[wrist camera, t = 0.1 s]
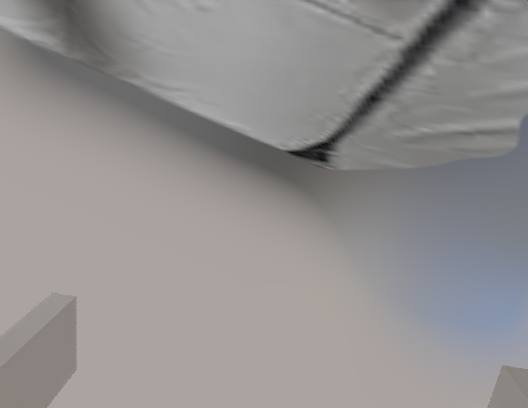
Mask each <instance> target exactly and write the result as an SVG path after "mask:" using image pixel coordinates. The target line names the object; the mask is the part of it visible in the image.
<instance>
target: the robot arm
mask: <svg viewBox="0 0 528 408" xmlns="http://www.w3.org/2000/svg"><path fill="white" fill-rule="evenodd" d="M75 371H76V296H71V295H65V294H59V293H51V294H50V295H49V296H48V297H46V298H45V299H44V300H43V301H42V302H40V303H39V304H38V305H37V306H36V307H35V308H33V309H32V310H31V311H30V312H29V313H27V314H26V315H25V316H24V317H23V318H21V319H20V320H19V321H18V322H17V323H15V324H14V325H13V326H12V327H11V328H9V329H8V330H7V331H6V332H5V333H4V334H2V335H1V336H0V408H47V407H48V406H49V404H50V403H51V402H52V400H53V399H54V398H55V396H56V395H57V394H58V393H59V392H60V390H61V389H62V388H63V386H64V385H65V384H66V383H67V381H68V380H69V379H70V378H71V376H72V375H73V374H74V372H75ZM488 408H528V369H522V368H516V367H510V366H504V365H503V366H502V368H501V371H500V374H499V377H498V379H497V382H496V385H495V388H494V391H493V394H492V397H491V399H490V402H489V405H488Z"/></svg>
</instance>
